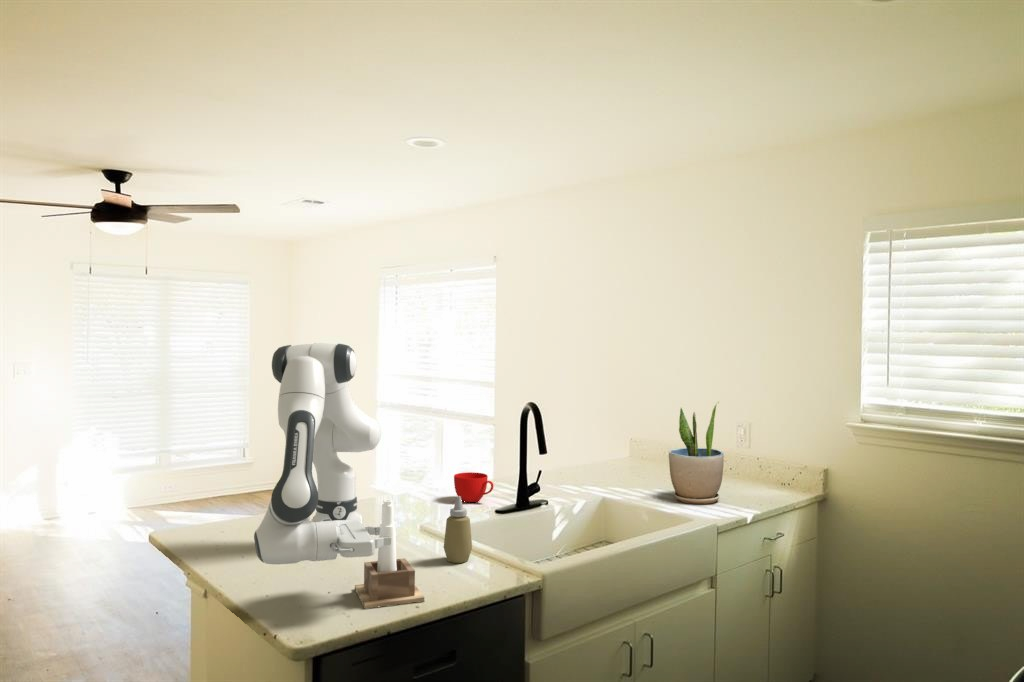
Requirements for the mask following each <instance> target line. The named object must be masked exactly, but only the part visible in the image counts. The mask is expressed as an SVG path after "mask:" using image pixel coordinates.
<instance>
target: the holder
mask: <svg viewBox="0 0 1024 682" xmlns="http://www.w3.org/2000/svg"><path fill="white" fill-rule="evenodd" d="M396 564H397V571H388V572H379V573H377V565H378V560H375V561H373V560H372V561H366V562H365V561H364V564H363V565H364V567H363V569H364V570H363V584H362V583H361V584H354V590H355V589H356V590H355V592H356V591H357V592H356V594H357V593H358V594H357V596H358V595H359V596H358V598H359V597H360V598H359V600H360V599H361V600H360V602H361V601H362V602H361V604H362V603H363V604H362V606H363V605H364V606H363V608H364V607H365V608H370V609H374V608H373V607H378V606H386V607H388V606H387V605H394V606H398V605H397V604H402V605H406V604H405V603H410V604H412V603H411V602H418V603H423V602H422V601H424V602H425V597H424V595H423V594H422V592H421V591H420V590H419V589H418V587H417V586H416V585H415V584H416V571H415V569H414V567H413V566H412V565H411V563H409V561H408V560H407V559H406V558H396ZM365 608H364V609H365ZM378 608H379V607H378Z"/></svg>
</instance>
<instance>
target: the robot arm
mask: <svg viewBox="0 0 1024 682" xmlns="http://www.w3.org/2000/svg"><path fill="white" fill-rule="evenodd" d="M357 365H358V360H357V357H356V353H355V350H354V349H353V348H352V347H351V346H350V345H347V344H344V343H336V344H333V343H325V342H323V343H322V342H318V343H316V342H314V343H307V344H305V343H304V344H303V343H302V344H297V345H295V344H294V345H291V344H287V345H283V346H280V347H278V348H277V349H276V350H275V351H274V353H273V355H272V360H271V371H272V375H273V377H274V379H275V380H276V381H277V382H278V383H279V384H280V387H279V393H278V399H277V417H278V418H277V419H278V426H279V427H280V428H281V429H282V431H283V432H284V435H285V445H284V446H285V448H284V457H283V458H284V459H283V469H282V472H281V476H280V478H279V480H278V481H277V483H276V484H275V486H274V488H273V491H272V493H271V498H270V501H269V504H268V507H267V510H266V512H265V514H264V516H263V519H262V520H261V522H260V524H259V526H258V527H257V528H256V530H255V531H254V533H253V540H254V547H255V548H254V549H255V552H256V555H257V558H258V559H259V560H260V562H262V563H264V564H266V565H291V564H298V563H300V562H303V561H309V562H322V561H333V560H336V559H337V557H338V554H339V555H340V556H341V557H343V558H364V557H365V558H366V557H367V558H368V557H372V556H374V555H375V551H376V549H379V547H382V546H386V545H391V538H390V537H389V536H384V537H383V538H379V537H378V538H377V537H372V536H373V535H374V536H379V532H380V525H379V526H372V525H371V526H370V525H363V519H362V518H363V517H362V515H361V514H360V513H359V512H358V511H357V508H358V501H357V500H358V497H357V496H356V493H357V492H356V491H357V488H356V487H357V485H356V484H357V481H356V480H357V479H356V478H357V474H356V472H355V470H354V468H353V467H351V466H350V465H349V464H347V463H345V462H343V461H341V459H340V458H339V456H338V453H363V452H367V451H368V452H369V451H374V449H376V447H377V446H378V444H379V443H380V440H381V436H382V432H381V431H382V430H381V427H380V425H379V423H378V421H377V419H375V418H374V417H373V416H372V417H371V416H369V415H368V414H367V413H365V412H364V411H363V410H362V409H360V408H359V406H357V404H356V403H355V401H354V399H353V397H352V394H351V390H350V387H349V382H350V381H351V380H352V379H353V378H354V377H355V374H356V371H357V367H358V366H357ZM313 465H314V468H315V472H316V477H317V478H316V479H317V486H316V482H315V479H314V477H313ZM315 510H316V512H315ZM314 512H315V514H314V516H313V517H312V519H311V520H310V516H311V515H313V513H314Z"/></svg>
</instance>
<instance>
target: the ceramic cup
mask: <svg viewBox="0 0 1024 682" xmlns="http://www.w3.org/2000/svg"><path fill="white" fill-rule="evenodd" d="M453 484H454V490H455V493H456V496H461V500H462V501H465V502H477V503H479V502H480V501H481V499H482V498H483V497H484V495H485V496H486V495H488V494H490V493H491V492H493V490H494V482H493V481H491V480H488V474H486V473H482V472H475V471H473V472H472V471H471V472H470V471H469V472H461V473H460V472H459V473H455V474H454V476H453ZM488 484H489V485H490V488H489V490H488V491H487V487H488ZM478 501H479V502H478Z"/></svg>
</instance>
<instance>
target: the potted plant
mask: <svg viewBox="0 0 1024 682" xmlns="http://www.w3.org/2000/svg"><path fill="white" fill-rule="evenodd" d="M719 403H720V401H717V402H716V404H715V405H714V406H713V409H712V413H711V417H710V420H709V425H708V426H707V430H706V434H705V444H706V448H705V447H704V448H703V447H698V446H699V445H698V433H697V421H696V420H697V419H696V418H697V417H696V411H693V414H692V429H691V428H690V425H689V422H688V419H687V418H686V415H685V412H684V410H683V408H682V407H680V410H679V419H678V425H679V426H678V432H679V436H680V439H681V441H682V442H683V444H684V446H685V447H681V448H673V449H670V450H669V451H668V462H669V465H668V466H669V473H670V480H671V483H672V487H673V489H674V491H675V492H674V493H673V497H674V498H675V499H676V500H677V501H679V502H682V503H687V504H696V505H697V504H698V505H699V504H700V505H701V504H703V505H705V504H713V503H716V502H717V501H718V500H719V499H720V494H719V491H720V489H721V486H722V481H723V474H724V463H725V462H724V460H725V459H724V457H725V456H724V452H723V451H721V450H719V449H717V448H716V449H715V448H712V447H713V437H714V429H715V417H716V409H717V405H718V404H719Z"/></svg>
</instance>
